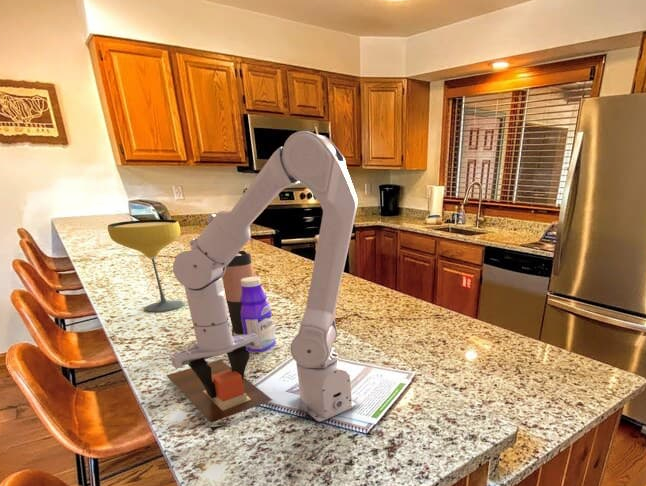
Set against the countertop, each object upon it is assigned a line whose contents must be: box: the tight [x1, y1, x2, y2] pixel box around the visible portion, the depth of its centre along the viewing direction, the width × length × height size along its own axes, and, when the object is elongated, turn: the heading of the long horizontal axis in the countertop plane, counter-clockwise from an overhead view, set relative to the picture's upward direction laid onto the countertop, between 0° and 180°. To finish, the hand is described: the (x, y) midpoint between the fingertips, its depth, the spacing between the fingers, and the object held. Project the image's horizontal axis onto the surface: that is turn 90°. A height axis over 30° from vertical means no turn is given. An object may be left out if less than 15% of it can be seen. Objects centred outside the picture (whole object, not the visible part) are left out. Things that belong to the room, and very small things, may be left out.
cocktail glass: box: [107, 218, 185, 313], centre depth 127 cm, size 18×18×25 cm
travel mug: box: [222, 250, 255, 335], centre depth 110 cm, size 8×8×20 cm
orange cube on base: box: [206, 370, 247, 407], centre depth 77 cm, size 8×4×5 cm, turn 43°
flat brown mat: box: [166, 359, 273, 431], centre depth 82 cm, size 24×11×2 cm, turn 43°
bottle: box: [240, 276, 277, 353], centre depth 97 cm, size 7×6×17 cm
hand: (225, 391), depth 78 cm, fingers closed on orange cube on base, 4 cm apart
